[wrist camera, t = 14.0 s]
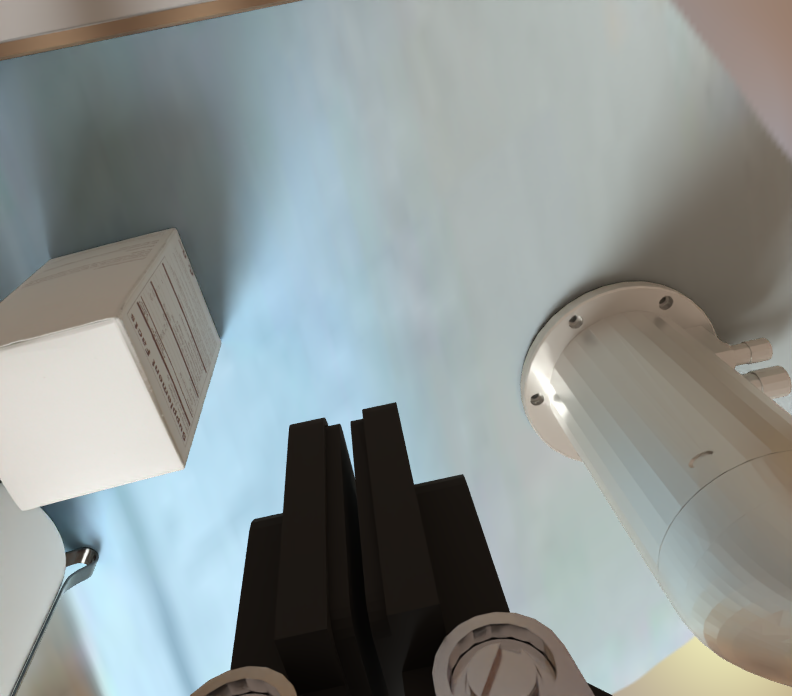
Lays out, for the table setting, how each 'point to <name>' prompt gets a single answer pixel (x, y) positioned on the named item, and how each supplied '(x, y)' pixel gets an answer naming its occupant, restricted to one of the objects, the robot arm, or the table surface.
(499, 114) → the table surface
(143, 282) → the supplement box
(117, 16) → the slot block
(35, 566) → the coffee press
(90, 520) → the table surface
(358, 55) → the table surface
